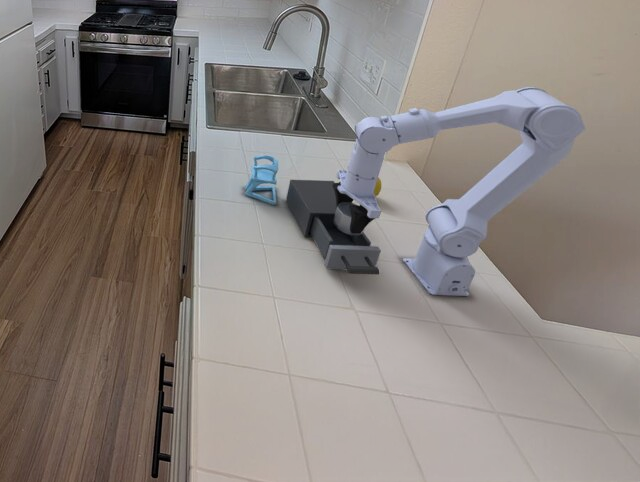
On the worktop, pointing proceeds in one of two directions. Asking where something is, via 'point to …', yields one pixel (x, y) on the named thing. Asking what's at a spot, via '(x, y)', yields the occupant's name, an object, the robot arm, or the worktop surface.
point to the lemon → (377, 187)
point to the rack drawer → (344, 248)
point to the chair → (263, 178)
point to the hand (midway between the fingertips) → (348, 222)
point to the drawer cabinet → (310, 201)
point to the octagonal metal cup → (344, 217)
